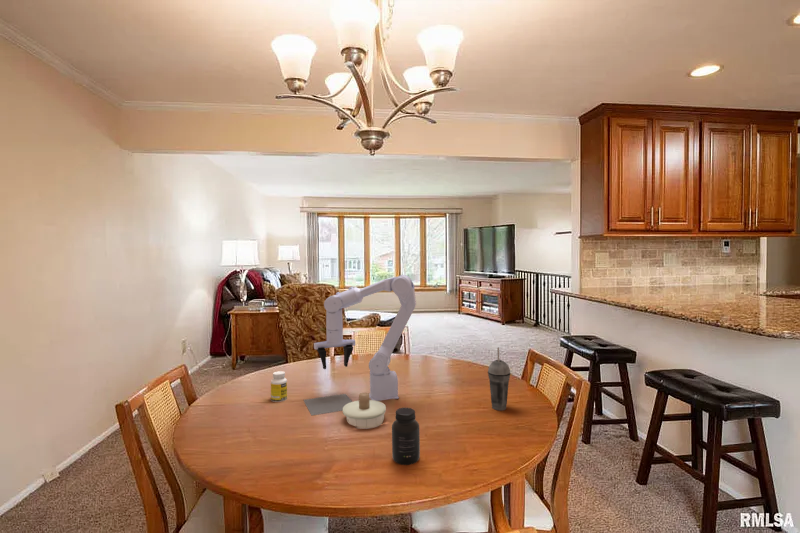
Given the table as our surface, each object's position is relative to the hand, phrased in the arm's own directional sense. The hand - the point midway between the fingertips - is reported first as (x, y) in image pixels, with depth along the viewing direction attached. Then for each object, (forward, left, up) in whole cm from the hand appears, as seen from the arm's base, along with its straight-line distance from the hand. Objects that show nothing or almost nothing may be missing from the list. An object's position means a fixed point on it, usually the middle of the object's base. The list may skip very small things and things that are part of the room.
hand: (335, 367), depth 146 cm
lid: (-3, +25, -7) cm, 26 cm away
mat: (+4, +8, -10) cm, 14 cm away
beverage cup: (-46, +33, -11) cm, 58 cm away
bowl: (-3, +25, -10) cm, 27 cm away
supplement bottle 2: (-5, +51, -11) cm, 52 cm away
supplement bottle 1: (+19, -4, -11) cm, 22 cm away
